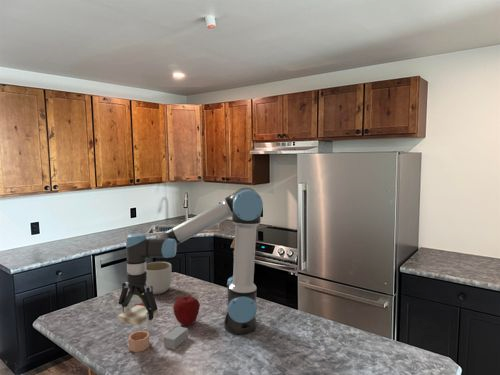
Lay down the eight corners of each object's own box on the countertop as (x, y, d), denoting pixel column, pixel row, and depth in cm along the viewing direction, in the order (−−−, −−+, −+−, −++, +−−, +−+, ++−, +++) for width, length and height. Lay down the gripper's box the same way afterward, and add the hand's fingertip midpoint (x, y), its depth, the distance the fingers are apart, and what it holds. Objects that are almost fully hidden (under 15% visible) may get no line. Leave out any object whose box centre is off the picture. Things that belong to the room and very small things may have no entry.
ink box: (145, 304, 179) (144, 283, 178) (140, 309, 174) (139, 286, 173) (130, 303, 181) (129, 282, 180) (125, 307, 176) (124, 285, 175)
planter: (155, 299, 186) (154, 272, 185) (135, 293, 195) (134, 267, 194) (178, 289, 200) (177, 264, 199) (158, 283, 209) (157, 260, 208)
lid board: (157, 314, 141) (157, 309, 141) (138, 325, 131) (138, 321, 131) (137, 309, 145) (137, 304, 145) (117, 320, 135) (117, 315, 135)
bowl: (153, 343, 141) (153, 333, 141) (139, 353, 134) (139, 342, 134) (138, 339, 144) (138, 329, 144) (124, 349, 137) (124, 338, 137)
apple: (169, 327, 155) (168, 299, 154) (182, 316, 166) (181, 290, 165) (192, 331, 151) (191, 303, 150) (204, 320, 162) (203, 293, 161)
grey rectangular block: (188, 337, 146) (187, 328, 146) (174, 349, 137) (173, 339, 137) (178, 335, 148) (178, 326, 148) (164, 346, 139) (163, 337, 139)
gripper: (166, 273, 135) (167, 325, 137) (121, 265, 145) (123, 314, 147) (153, 279, 128) (154, 334, 130) (108, 270, 138) (109, 322, 140)
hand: (138, 324), depth 138 cm, fingers closed on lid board, 11 cm apart
